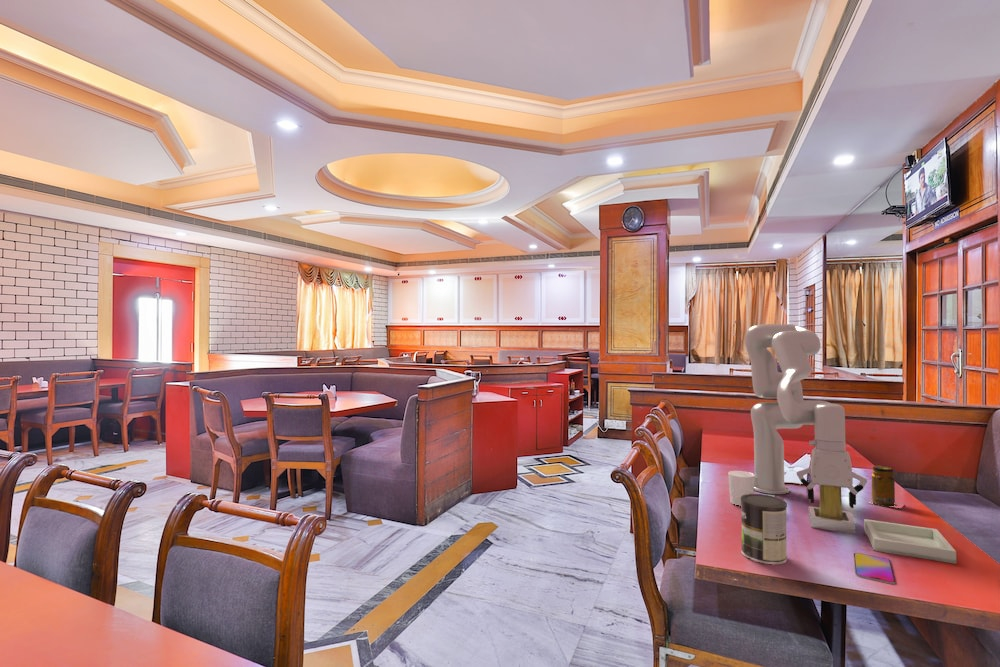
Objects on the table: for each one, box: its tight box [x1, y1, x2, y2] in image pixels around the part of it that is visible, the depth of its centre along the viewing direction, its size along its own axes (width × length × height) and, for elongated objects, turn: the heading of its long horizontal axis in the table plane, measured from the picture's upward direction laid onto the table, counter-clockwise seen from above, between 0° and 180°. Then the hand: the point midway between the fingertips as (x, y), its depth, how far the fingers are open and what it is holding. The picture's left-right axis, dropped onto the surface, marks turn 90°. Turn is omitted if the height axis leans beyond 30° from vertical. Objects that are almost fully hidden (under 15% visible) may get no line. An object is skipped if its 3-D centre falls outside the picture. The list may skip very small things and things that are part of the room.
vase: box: [818, 485, 843, 520], centre depth 145 cm, size 6×6×14 cm
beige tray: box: [863, 518, 957, 565], centre depth 131 cm, size 16×16×3 cm
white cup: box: [727, 470, 755, 507], centre depth 164 cm, size 8×8×10 cm
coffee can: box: [740, 493, 788, 566], centre depth 125 cm, size 10×10×14 cm
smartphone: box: [853, 552, 896, 585], centre depth 118 cm, size 7×1×15 cm
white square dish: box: [808, 506, 856, 535], centre depth 145 cm, size 10×10×3 cm
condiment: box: [867, 465, 902, 510], centre depth 163 cm, size 7×8×12 cm
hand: (831, 504), depth 145 cm, fingers open, 9 cm apart
